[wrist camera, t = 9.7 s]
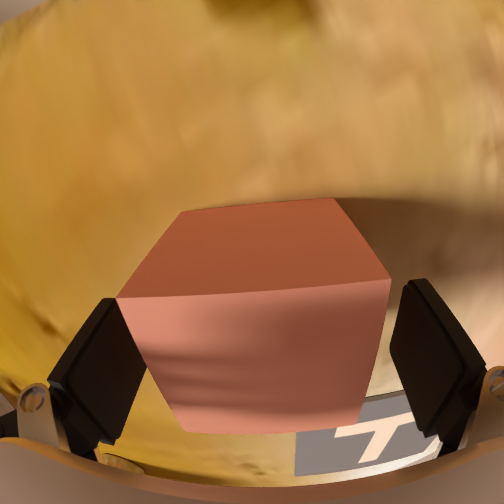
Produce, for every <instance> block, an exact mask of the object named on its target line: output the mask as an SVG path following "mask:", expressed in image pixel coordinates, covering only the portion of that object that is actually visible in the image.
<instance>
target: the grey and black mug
mask: <svg viewBox="0 0 504 504" xmlns="http://www.w3.org/2000/svg"><path fill="white" fill-rule="evenodd" d="M13 410H15V409H14V407H13V406H12V405H11V403H10V402H9V401H8V400H7V399H6V398H5V397H4V395H3V394H2V393H1V392H0V416H2V415H4V414H7V413H9V412H11V411H13Z"/></svg>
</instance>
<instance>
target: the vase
mask: <svg viewBox="0 0 504 504" xmlns="http://www.w3.org/2000/svg"><path fill="white" fill-rule="evenodd" d="M101 456H102V459H103V461H104V464H105V465H109V466H112V467H115V468H119V469H123V470H127V471H131V472H135V473H139V474H143V475H144V474H145V472H144V470H143V469H142V468H141V467H140V466H138V465H136V464H134V463H132V462H130V461H128V460H126V459H123V458H121V457H118V456H114V455H111V454H102V455H101Z"/></svg>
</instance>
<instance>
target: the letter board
mask: <svg viewBox="0 0 504 504" xmlns="http://www.w3.org/2000/svg"><path fill="white" fill-rule="evenodd" d="M437 435H438V434H437ZM437 435H434V436H431V437H428V438H425V437H424V434H423V431H421V432H420V431H419V430H418V429H417V426H416V423H415V420H414V417H413V414H412V411H411V408H410V405H409V402H408V399H407V397H406V394H405V391H404V390H402V391H398V392H393V393H388V394H383V395H378V396H373V397H367V398H365V399H364V402H363V405H362V408H361V411H360V414H359V417H358V420H357V423H356V425H350V426H343V427H337V428H329V429H321V430H312V431H302V432H296V454H295V472H294V476H307V475H317V474H325V473H333V472H340V471H346V470H352V469H357V468H363V467H367V466H372V465H377V464H381V463H385V462H389V461H393V460H397V459H401V458H404V457H408V456H411V455H414V454H418V453H421V452H424V450H425V449H426V448H427V447H428V446H429V445H430V444H431V442H432V441H433V440H434V439H435V438H436V436H437Z"/></svg>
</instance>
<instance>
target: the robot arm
mask: <svg viewBox="0 0 504 504" xmlns="http://www.w3.org/2000/svg"><path fill="white" fill-rule="evenodd" d="M390 354H391V357H392V360H393V362H394V365H395V367H396V370H397V372H398V375H399V378H400V380H401V383H402V386H403V388H404V391H405V394H406V397H407V399H408V402H409V405H410V408H411V411H412V414H413V417H414V420H415V423H416V426H417V429H418V430H419V431H420V432H421V431H423V434H424V437H425V438H428V437H431V436H434V435H437V434H438V437H439V440H440V443H439V445H438V447H437V450H436V452H435V454H434V456H433V458H432V460H429V461H426V462H423V463H420V464H417V465H413V466H410V467H406V468H402V469H398V470H395V471H391V472H387V473H383V474H378V475H374V476H369V477H364V478H359V479H353V480H347V481H341V482H334V483H326V484H317V485H306V486H292V487H229V486H215V485H205V484H196V483H188V482H181V481H175V480H169V479H163V478H158V477H153V476H148V475H143V474H139V473H135V472H131V471H127V470H123V469H119V468H115V467H112V466H109V465H105V464H104V461H103V459H102V456H101V454H100V451H99V448H98V446H97V445H98V442H99V441H100V442H102V443H105V444H109V445H113V446H114V444H115V441H116V439H118V438H119V437H120V436H121V433H122V430H123V428H124V425H125V422H126V420H127V417H128V414H129V412H130V409H131V406H132V404H133V401H134V399H135V396H136V393H137V391H138V388H139V386H140V383H141V381H142V378H143V376H144V373H145V371H146V368H147V365H146V363H145V361H144V360H143V358H142V356H141V354H140V352H139V349H138V347H137V345H136V343H135V341H134V339H133V337H132V335H131V333H130V330H129V328H128V326H127V324H126V321H125V319H124V317H123V315H122V312H121V310H120V308H119V305H118V303H117V300H116V298H103V299H102V300H101V301H100V302H99V304H98V305H97V306H96V308H95V309H94V310H93V312H92V313H91V315H90V316H89V317H88V319H87V320H86V321H85V323H84V324H83V326H82V327H81V329H80V330H79V331H78V333H77V334H76V336H75V337H74V339H73V340H72V341H71V343H70V344H69V346H68V347H67V349H66V350H65V352H64V353H63V355H62V356H61V358H60V359H59V361H58V362H57V364H56V366H55V367H54V369H53V370H52V372H51V373H50V375H49V377H48V378H47V381H48V382H49V384H50V385H51V386H50V387H49V389H48V388H47V387H46V385H44V384H42V383H34V384H31V385H29V386H27V387H26V388H25V389H24V390H23V391H22V392H21V393H20V395H19V397H18V399H17V409H15V410H13V411H11V412H9V413H7V414H4V415H2V416H0V504H504V367H503V366H496V367H493V368H491V369H489V371H487V369H486V368H485V366H486V363H485V361H484V360H483V358H482V356H481V355H480V353H479V352H478V350H477V348H476V347H475V345H474V344H473V342H472V341H471V339H470V338H469V336H468V335H467V333H466V332H465V330H464V329H463V327H462V326H461V324H460V323H459V322H458V320H457V319H456V317H455V316H454V315H453V313H452V312H451V310H450V309H449V308H448V306H447V305H446V304H445V302H444V301H443V300H442V298H441V297H440V296H439V294H438V293H437V292H436V290H435V289H434V288H433V286H432V285H431V284H430V283H429V281H428V280H427V279H425V278H423V279H414V280H410V281H409V282H408V284H407V285H405V286H404V287H403V291H402V296H401V301H400V306H399V310H398V314H397V319H396V323H395V327H394V331H393V335H392V338H391V342H390Z"/></svg>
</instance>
